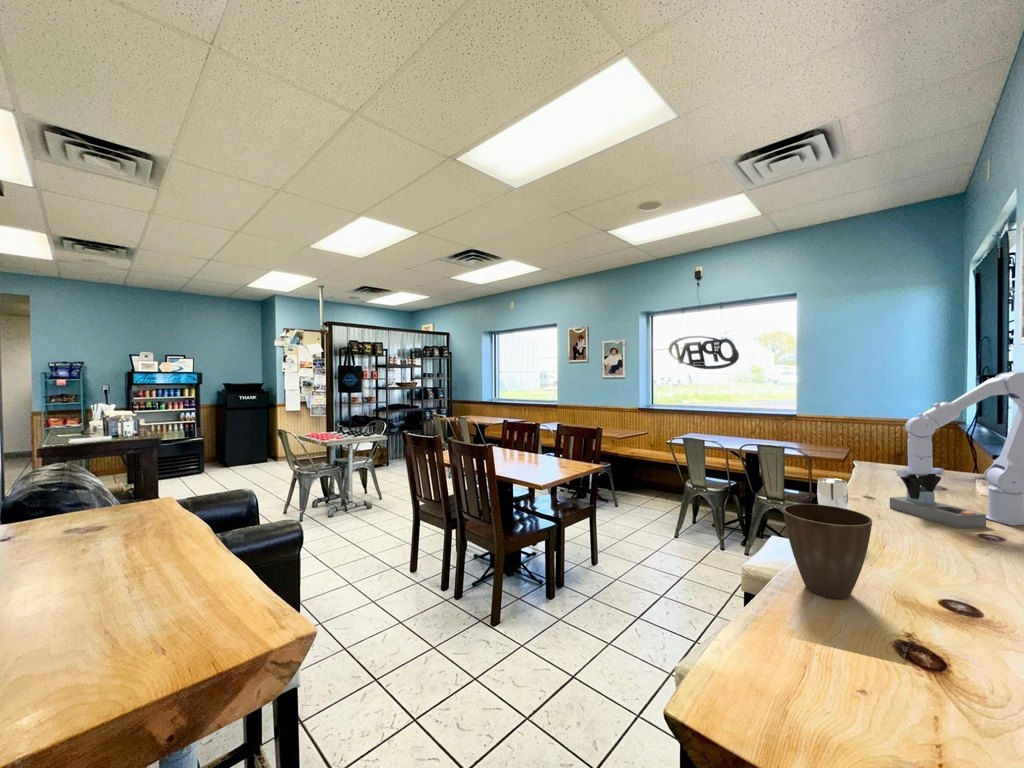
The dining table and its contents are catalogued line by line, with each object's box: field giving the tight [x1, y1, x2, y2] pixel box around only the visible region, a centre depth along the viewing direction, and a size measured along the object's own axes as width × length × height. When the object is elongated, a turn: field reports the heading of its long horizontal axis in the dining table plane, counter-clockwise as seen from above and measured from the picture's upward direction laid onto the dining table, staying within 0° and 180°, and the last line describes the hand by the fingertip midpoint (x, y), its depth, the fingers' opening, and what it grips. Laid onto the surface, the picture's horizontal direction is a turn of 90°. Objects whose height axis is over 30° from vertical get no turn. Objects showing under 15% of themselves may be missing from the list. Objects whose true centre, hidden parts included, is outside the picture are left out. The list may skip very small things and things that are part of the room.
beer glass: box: [816, 477, 849, 509], centre depth 121 cm, size 7×7×15 cm
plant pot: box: [782, 503, 873, 600], centre depth 89 cm, size 15×15×16 cm
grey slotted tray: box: [889, 496, 987, 529], centre depth 133 cm, size 9×20×4 cm, turn 6°
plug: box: [906, 486, 936, 505], centre depth 137 cm, size 4×5×7 cm
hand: (920, 498), depth 137 cm, fingers closed on plug, 4 cm apart
